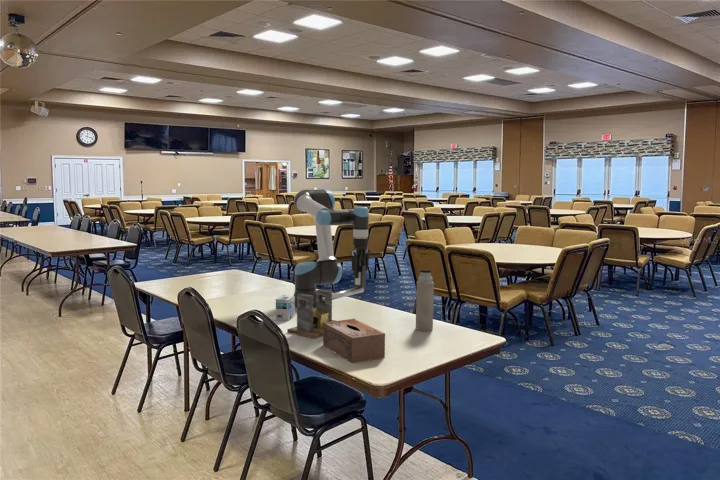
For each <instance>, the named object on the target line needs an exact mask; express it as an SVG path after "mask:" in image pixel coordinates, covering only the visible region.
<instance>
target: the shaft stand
mask: <svg viewBox="0 0 720 480" xmlns="http://www.w3.org/2000/svg"><path fill="white" fill-rule="evenodd" d="M332 293H333V291H332V290H327V289H321V288H320V289H316V306H315V307H316V308H315V309H320V310H323V311H325V312H328V313H329V314H328V321H327V322H332V321H336V320H335V319H333V312H332V311H333V300H332ZM321 296H325V302H322V301H321ZM304 300H305V301H306V306H304ZM313 310H314V307H313V295H307V294H297V307H296V326H293V327H291V328H287V333H289V334H293V335H297V336H301V337H304V338H305V337H306V338H309V339H317V338H320V337H323V328H322V329H317V324H316V325H313Z"/></svg>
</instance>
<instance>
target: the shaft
mask: <svg viewBox="0 0 720 480" xmlns="http://www.w3.org/2000/svg"><path fill="white" fill-rule="evenodd" d="M353 272H354V274H353V275H354V276H353V277H354V278H353V280H354V281H353V284H354V285H353V286H354V287H353V288H349V289H346V290H339V291H336V292H332V301H334V300H337V299H342V298H346V297H350V296H353V295H356V294H360V293H363V292H365V288H367V284H366V283H367V271H366V265H361V264H360V271H359V272H361V274H360V285H357V284H355V271H353ZM321 301H322V302H325V296H321Z"/></svg>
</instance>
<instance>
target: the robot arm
mask: <svg viewBox="0 0 720 480" xmlns="http://www.w3.org/2000/svg"><path fill="white" fill-rule="evenodd" d="M335 199H336V198H335V196H334V194H333V192H332V191H331V190H330V189H302V190H300V191H299V192H297V193H296V194H295V196H294V198H293V204H294V207H295V208H296V209H298V211H300V212H303V213H304V212H305V213H306V214H308V215H310V216H312V217H313V218H314V225H315V233H316V243H317V253H318V254H317V255H318V259H317V260H316V262H315V261H304V262H300V263H297V264H296V265H295V267H294V293H293V296H295V307H296V308H297V294H307V295H313V308H314V307H316V290H317V286H321V285H332V284H333V285H334V284H337V283H338V282H340V280H341V279H342V277H343V276H342V275H343V267H342V264H341V263H340V262H338V259H337V258H336V257H335V255H334V253H335V252H334V243H333V235H332V226H338V225H339V226H340V225H341V226H342V225H343V226H344V225H346V226H347V225H351V226H352V225H353V230H352V234H353V235H352V237H353V238H352V245H353V246H354V247H353V251H350V255H351V271H352V272H354V271H355V284H357V285H360V274H361V272H359V271H360V265H366V272H368V269H369V264H370V263H369V261H370V260H369V259H370V252H371V250H370V249H368V248H367V246H368V245H369V238H368V237H369V219H370V218H369V207H367V206H354V207H353V209H349V208H348V209H334V208H335V204H336V201H335ZM304 306H306V301H305V300H304Z"/></svg>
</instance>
